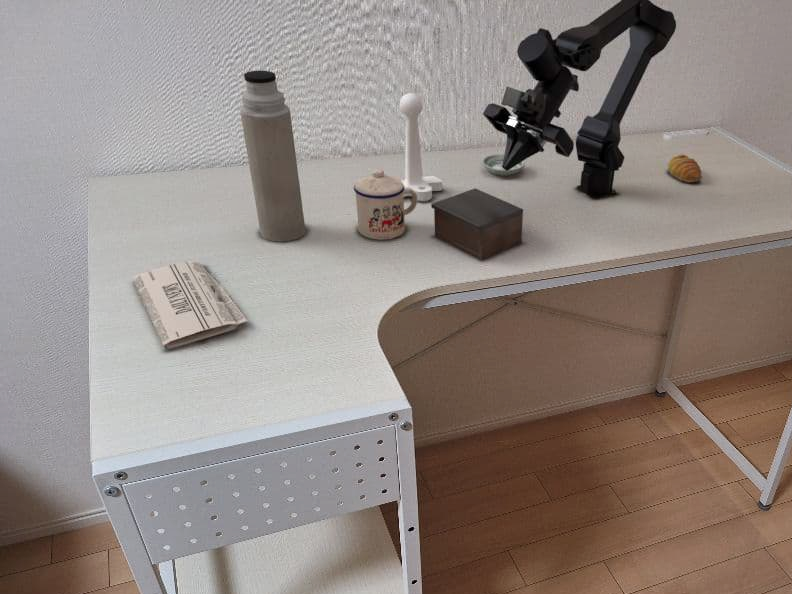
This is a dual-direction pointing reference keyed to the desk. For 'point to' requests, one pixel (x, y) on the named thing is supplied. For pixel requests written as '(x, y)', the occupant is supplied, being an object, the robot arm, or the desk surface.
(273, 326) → the desk surface
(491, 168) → the saucer
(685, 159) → the pastry
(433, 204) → the dark grey flat tile
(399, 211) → the teacup with lid
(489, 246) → the wooden box
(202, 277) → the newspaper
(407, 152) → the joystick
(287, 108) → the thermos bottle
